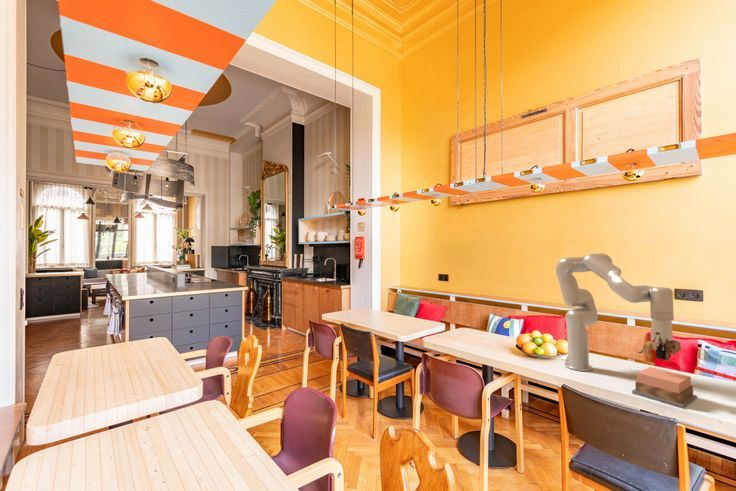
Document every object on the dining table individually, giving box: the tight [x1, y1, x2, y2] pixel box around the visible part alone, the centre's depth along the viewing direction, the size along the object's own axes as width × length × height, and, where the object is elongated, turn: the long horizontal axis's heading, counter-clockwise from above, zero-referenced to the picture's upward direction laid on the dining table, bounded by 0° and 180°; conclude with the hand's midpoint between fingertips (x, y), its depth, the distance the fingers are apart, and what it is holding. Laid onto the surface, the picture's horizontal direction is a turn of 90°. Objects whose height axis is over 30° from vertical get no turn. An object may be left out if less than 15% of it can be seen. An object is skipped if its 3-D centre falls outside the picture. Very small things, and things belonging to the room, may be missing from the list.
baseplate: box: [631, 388, 698, 409], centre depth 144 cm, size 17×17×1 cm
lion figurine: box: [638, 339, 682, 362], centre depth 146 cm, size 15×5×9 cm, turn 36°
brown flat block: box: [635, 381, 694, 404], centre depth 144 cm, size 15×15×4 cm
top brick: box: [636, 366, 692, 393], centre depth 144 cm, size 14×14×4 cm
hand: (663, 357), depth 144 cm, fingers closed on lion figurine, 4 cm apart
